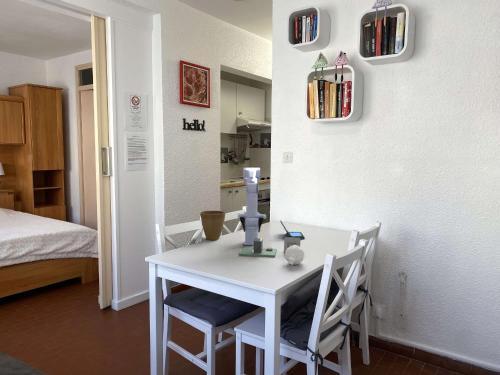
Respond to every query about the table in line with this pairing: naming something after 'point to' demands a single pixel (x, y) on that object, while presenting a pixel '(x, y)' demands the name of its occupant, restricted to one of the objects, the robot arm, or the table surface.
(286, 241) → the electrical switch
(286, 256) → the perfume bottle
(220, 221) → the plant pot
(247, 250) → the pcb
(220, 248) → the table surface
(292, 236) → the handheld game console
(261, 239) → the plug
